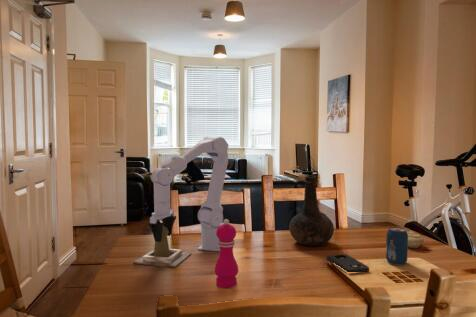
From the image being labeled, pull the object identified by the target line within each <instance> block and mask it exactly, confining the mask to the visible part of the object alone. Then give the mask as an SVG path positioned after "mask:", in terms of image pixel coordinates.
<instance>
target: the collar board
mask: <svg viewBox="0 0 476 317" xmlns="http://www.w3.org/2000/svg"><path fill="white" fill-rule="evenodd" d="M169 252H170V257H168V258H167V257H157V256H153V255H154V249H152V250H150V251H148V252H147V253H145V254H143V255H142V256H141V257H139V258H137V259H135V260H134V261H133V264H134V265H135V264H137V265H145V266H152V267H164V268H174V269H176V268H177V267H178V266H179V265H180V264H181V263H183V262H184V261H185V260H186V259H188V258H189V257H190V256H191V255H192V253H191V252H183V249H177V248H169Z"/></svg>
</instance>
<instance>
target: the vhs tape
mask: <svg viewBox="0 0 476 317" xmlns="http://www.w3.org/2000/svg"><path fill="white" fill-rule="evenodd" d="M326 261H328V262H329V263H331V262H332V263H335V264H336V265H338V266H340V267H341V268H343V269H344V270H346V271H347V272H365V273H369V272H370V267H369V266H367V265H366V264H364V263H363V262H361V261H359V260H357V259H355V258H354V257H352V256H351V255H348V254H347V253H344V254H343V253H342V254H341V253H340V254H333V255H326ZM332 263H331V264H332ZM361 266H362V267H363V268H362V267H361Z"/></svg>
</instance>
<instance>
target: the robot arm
mask: <svg viewBox="0 0 476 317" xmlns="http://www.w3.org/2000/svg"><path fill="white" fill-rule="evenodd" d="M228 149H229V143H228V142H227V141H226V139H225V137H221V136H218V137H215V136H205V137H203V139H200V140H199V141H198V143H196V144H195V145H194V146H192V147H191V148H190V149H189V150H187V151H186V152H185V153H184V154H182V155H174V156H172V157H171V159H170V160H168V162H166V163H163V164H161V167H156V168H155V169H153V171H152V172H151V175H150V176H149V177H150V180H151V182H152V183H153V205H154V206H153V208H154V212H152V213H151V216H150V217H149V221H148V223H147V226H149V227H148V228H150V230H151V232H152V235H153V239H154V243H155V242H161V239H162V230H163V227H166V228H168V231H169V233H168V235H167V237H171V235H172V232H173V226H174V224H175V221H176V219H177V216H176V215H175V210H174V209H172V208H171V184H172V182H173V181H174V178H175V177H176V176H178V175H179V174H180V173H181V172H183V171H185V170H186V169H187V168H188V167H187V166H188V165H187V164H188V163H191V161H193V160H195V159H196V158H197V157H199V156H201V155H202V154H205V153H206V154H207V155H208V156H209V157H210V158H211V160H212V161H213V166H212V171H211V174H210V179H209V183H208V184H209V185H208V190H207V195H206V199H205V201H204V202H203V203H201V206H200V209H199V210H198V212H197V219H198V221H199V222H200V230H201V232H200V233H201V234H200V236H201V237H200V240H201V242H200V243H201V244H200V246H199V247H197V250H201V251H212V252H220V246H219V245H218V240H219V239H218V237H217V235H216V231H217V228H218V227H219V226H220V225H222V223H223V221H224V214H223V212H224V211H223V210H224V207H223V206H222V204H221V198H222V193H223V188H224V184H225V180H226V179H225V178H226V173H227V169H228V164H229V153H228Z"/></svg>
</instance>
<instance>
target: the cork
mask: <svg viewBox="0 0 476 317" xmlns="http://www.w3.org/2000/svg"><path fill="white" fill-rule="evenodd" d="M168 233H169V231H168V228H166V227H164V226H163V230H162V239H161V242H155V241H154V248H153V250H154V255H153V256H157V257H167V258H168V257H170V252H169V249H170V247H169V240H168V236H167V235H168Z"/></svg>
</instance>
